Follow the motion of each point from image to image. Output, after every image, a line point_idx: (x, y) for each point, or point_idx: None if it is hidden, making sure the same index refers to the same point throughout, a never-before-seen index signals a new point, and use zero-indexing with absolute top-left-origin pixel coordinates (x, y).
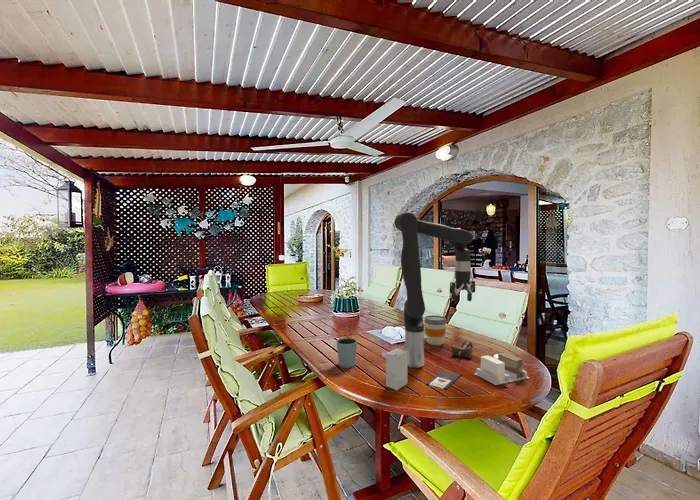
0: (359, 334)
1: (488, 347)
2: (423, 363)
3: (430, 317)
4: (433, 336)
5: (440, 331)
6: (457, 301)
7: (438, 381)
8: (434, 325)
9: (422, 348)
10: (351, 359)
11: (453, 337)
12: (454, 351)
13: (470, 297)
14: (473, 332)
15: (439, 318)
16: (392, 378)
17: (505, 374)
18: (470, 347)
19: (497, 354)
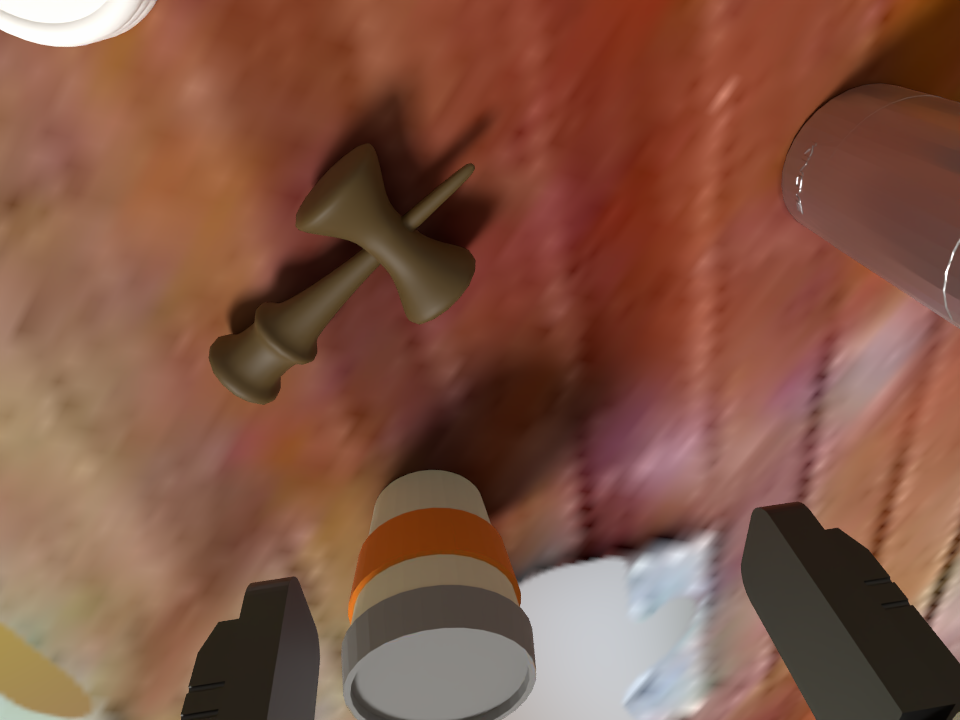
0: (768, 674)
1: (39, 351)
2: (830, 111)
3: (454, 711)
4: (479, 519)
5: (432, 539)
6: (775, 520)
7: None
8: (488, 589)
9: (949, 129)
10: None
11: (238, 576)
12: (457, 250)
13: (259, 683)
14: (29, 639)
15: (393, 684)
16: None
17: None
18: (326, 200)
19: (74, 21)
